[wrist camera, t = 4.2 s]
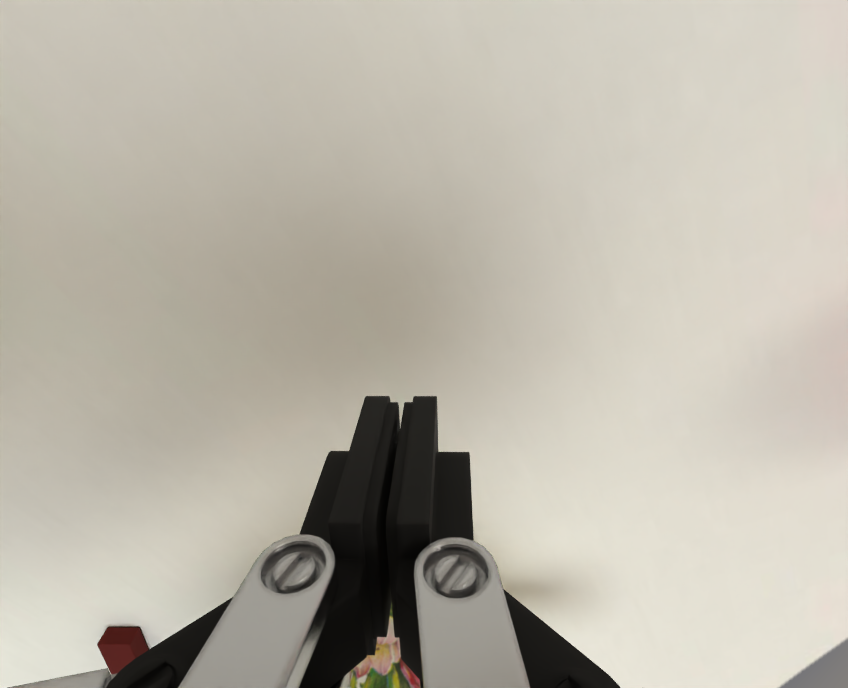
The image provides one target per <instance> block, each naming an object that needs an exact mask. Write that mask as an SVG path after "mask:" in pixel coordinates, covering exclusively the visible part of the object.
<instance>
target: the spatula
mask: <svg viewBox="0 0 848 688" xmlns="http://www.w3.org/2000/svg"><path fill="white" fill-rule="evenodd" d="M97 645H98V647H99V649H100V652H101V654H102V656H103V658H104V660H105V662H106V664H107V666H108V668H109V670H110V672H111V674H117V673H118V672H119V671H120V670H121V669H122V668H124V667H125V666H126V665H127V664H129V663H130V662H131V661H133V660H134V659H135V658H137V657H138V656H140V655H142V654H143V653H145V652H146V651H148V650H149V649H148V647H147V645H146V642H145V640H144V637H143V635H142V633H141V630H140V628H139V627H108V628H107V629H106V631H105V632H104V634H103V636H102V637H101V639H100V640H99V642H98V644H97Z"/></svg>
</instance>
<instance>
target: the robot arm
mask: <svg viewBox="0 0 848 688" xmlns="http://www.w3.org/2000/svg"><path fill="white" fill-rule="evenodd" d="M391 602H392V613H393V625H394V636H395V638H399V642H400V655H401V659H402V660H403V662H404V663H405V664H406V665H407V666H408V667H409V668H410V670H411V671H412V672H413V673H414V674H415V675H416V676H417V678H418V679H419V680H420V688H620V686H619V685H618V684H617V683H616V682H615V681H614V680H613V679H612V678H611V677H610V676H609V675H608V674H607V673H606V672H604V671H603V670H602V669H601V668H599V667H598V666H597V665H596V664H595V663H593V662H592V661H591V660H590V659H588V658H587V657H586V656H585V655H584V654H582V653H581V652H580V651H579V650H577V649H576V648H575V647H574V646H572V645H571V644H570V643H569V642H568V641H566V640H565V639H564V638H563V637H561V636H560V635H559V634H558V633H557V632H555V631H554V630H553V629H552V628H550V627H549V626H548V625H547V624H545V623H544V622H543V621H542V620H541V619H539V618H538V617H537V616H536V615H534V614H533V613H532V612H531V611H530V610H528V609H527V608H526V607H525V606H523V605H522V604H521V603H520V602H519V601H517V600H516V599H515V598H514V597H512V596H511V595H510V594H509V593H507V592H506V591H505V590H504V589H503V587H502V583H501V579H500V576H499V572H498V568H497V565H496V563H495V561H494V559H493V557H492V555H491V554H490V553H489V552H488V551H487V550H486V549H485V548H484V547H483V546H482V545H480V544H478V543H476V542H475V541H473V520H472V498H471V476H470V455H469V452H438V420H437V396H414V398H413V402H405V403H404V409H403V415H402V421H401V428H400V421H399V405H398V402H390V398H389V396H366V397H365V399H364V403H363V406H362V409H361V413H360V416H359V420H358V423H357V426H356V430H355V433H354V436H353V440H352V443H351V447H350V450H349V451H330V452H329V454H328V456H327V458H326V461H325V464H324V466H323V469H322V472H321V475H320V478H319V481H318V483H317V486H316V489H315V492H314V495H313V498H312V500H311V503H310V506H309V509H308V512H307V514H306V517H305V520H304V523H303V526H302V529H301V531H300V534H299V535H294V536H289V537H285V538H283V539H281V540H279V541H277V542H275V543H273V544H272V545H270V546H269V547H268V548H266V549H265V550H264V551H263V552H262V553H261V555H260V556H259V557H258V558H257V560H256V561H255V563H254V564H253V566H252V568H251V569H250V571H249V573H248V574H247V576H246V577H245V579H244V581H243V582H242V584H241V586H240V587H239V589H238V591H237V592H236V594H235V595H234V597H232V598H231V599H229V600H228V601H226V602H224V603H223V604H221V605H220V606H218V607H217V608H215V609H213V610H212V611H210V612H209V613H207V614H205V615H204V616H202V617H201V618H199V619H197V620H196V621H194V622H193V623H191V624H189V625H188V626H186V627H185V628H183V629H181V630H180V631H178V632H177V633H175V634H173V635H172V636H170V637H169V638H167V639H165V640H164V641H162V642H161V643H159V644H157V645H156V646H154V647H153V648H151V649H149V650H148V651H146V652H145V653H143V654H142V655H140V656H138V657H137V658H135V659H134V660H133V661H131V662H130V663H129V664H127V665H126V666H125V667H124V668H122V669H121V670H120V671H119V672H118V673H117V674H111V675H110V672H109V670H108V668H107V669H101V670H96V671H91V672H86V673H81V674H76V675H70V676H65V677H60V678H55V679H50V680H45V681H40V682H34V683H29V684H24V685H19V686H14V687H9V688H349V687H350V682H351V676H352V673H351V670H352V669H353V668H355V667H356V666H357V665H358V664H359V663H361V662H362V661H363V660H364V659H365V658H367V655H375V651H376V644H377V637H387V633H388V626H389V618H390V610H391Z"/></svg>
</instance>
